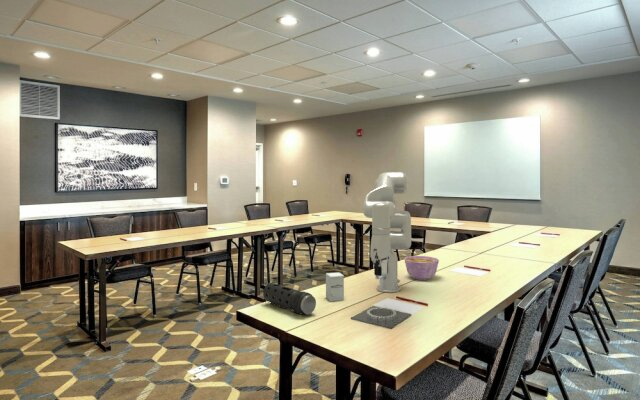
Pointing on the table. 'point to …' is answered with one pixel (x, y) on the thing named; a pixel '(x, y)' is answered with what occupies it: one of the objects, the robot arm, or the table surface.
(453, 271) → the table surface
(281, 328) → the table surface
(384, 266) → the piston
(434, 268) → the bowl of food
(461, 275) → the table surface
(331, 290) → the supplement box
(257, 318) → the table surface
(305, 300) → the muzzle brake
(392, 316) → the ring mat
